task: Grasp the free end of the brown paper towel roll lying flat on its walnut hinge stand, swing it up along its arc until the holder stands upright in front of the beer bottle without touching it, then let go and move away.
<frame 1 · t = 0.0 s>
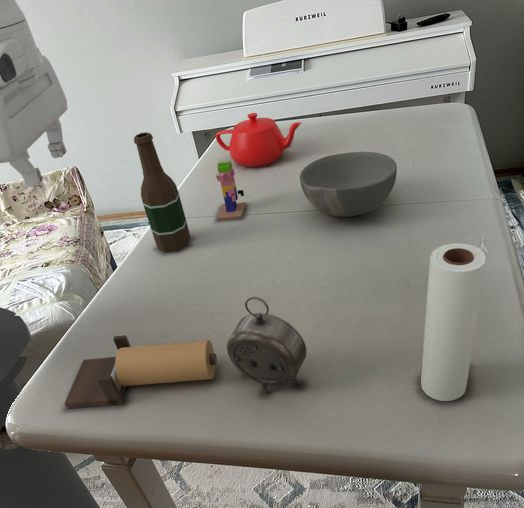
hand: (48, 169, 70), 32 cm above the table, tool pointing down, fingers open, 8 cm apart
holder: (164, 363, 80), point 3 cm above the table, hinge at 0.0°
beer bottle: (174, 244, 115), on the table
paper towel roll: (447, 386, 73), on the table
stand: (123, 382, 83), on the table
alarm clock: (271, 385, 78), on the table
figurine: (232, 213, 123), on the table
teapot: (262, 160, 144), on the table
bowl: (349, 211, 115), on the table
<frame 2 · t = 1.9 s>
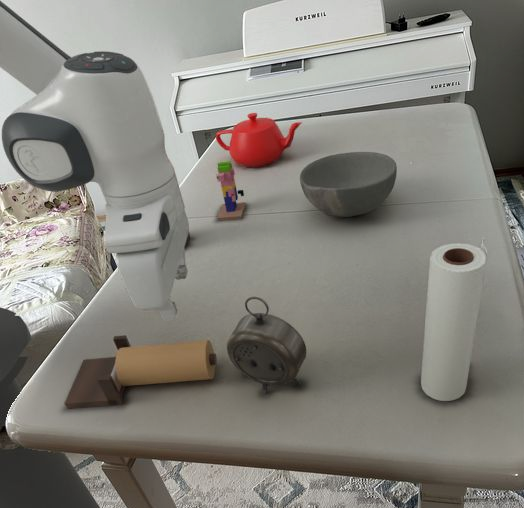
hand: (176, 295, 72), 15 cm above the table, tool pointing down, fingers open, 8 cm apart
nothing on the table moved.
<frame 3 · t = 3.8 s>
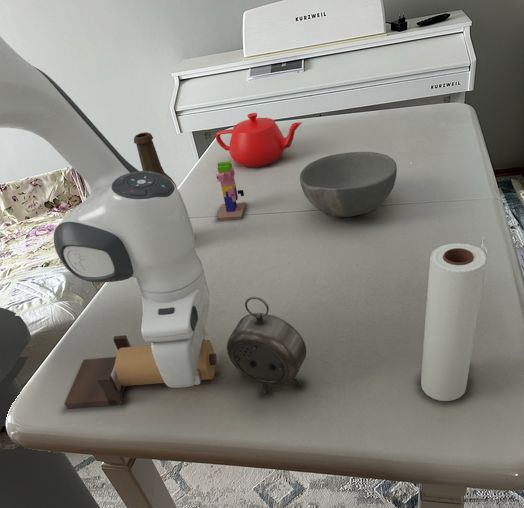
hand: (198, 364, 80), 2 cm above the table, tool pointing down, fingers closed on holder, 6 cm apart
holder: (164, 363, 80), point 3 cm above the table, hinge at 0.0°, touching gripper
everything else where it was.
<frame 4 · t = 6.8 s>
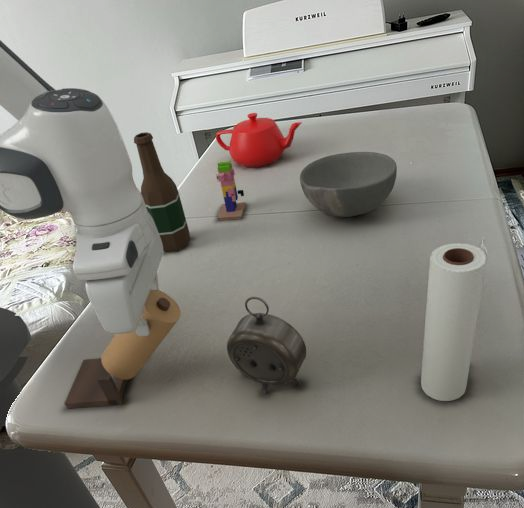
hand: (150, 316, 74), 13 cm above the table, tool pointing down, fingers closed on holder, 6 cm apart
holder: (138, 337, 77), point 9 cm above the table, hinge at 46.2°, touching gripper
everything else where it was.
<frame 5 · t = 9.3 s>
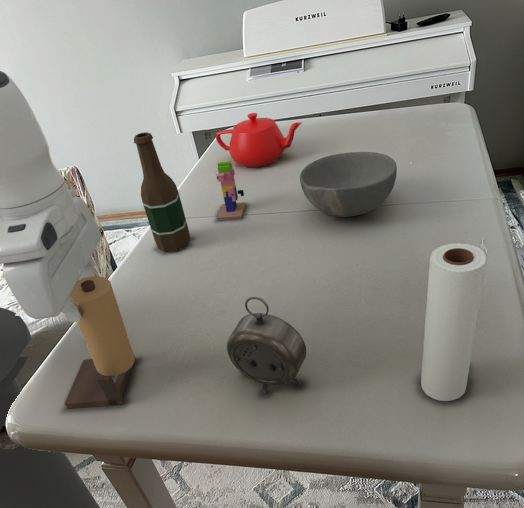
hand: (85, 303, 73), 16 cm above the table, tool pointing down, fingers closed on holder, 6 cm apart
holder: (103, 329, 76), point 11 cm above the table, hinge at 85.7°, touching gripper
everything else where it was.
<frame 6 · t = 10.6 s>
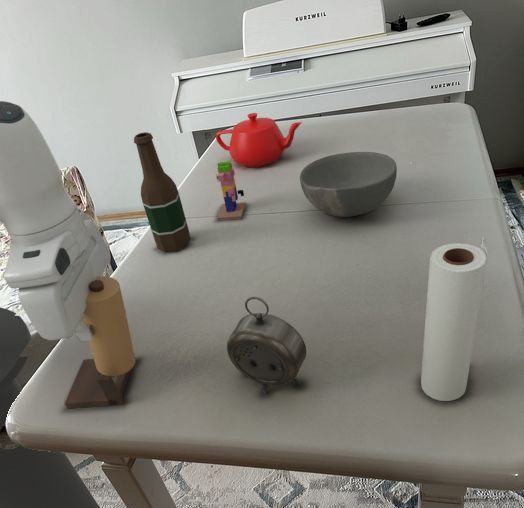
hand: (95, 322, 75), 12 cm above the table, tool pointing down, fingers closed on holder, 6 cm apart
holder: (107, 329, 76), point 11 cm above the table, hinge at 81.1°, touching gripper
everything else where it was.
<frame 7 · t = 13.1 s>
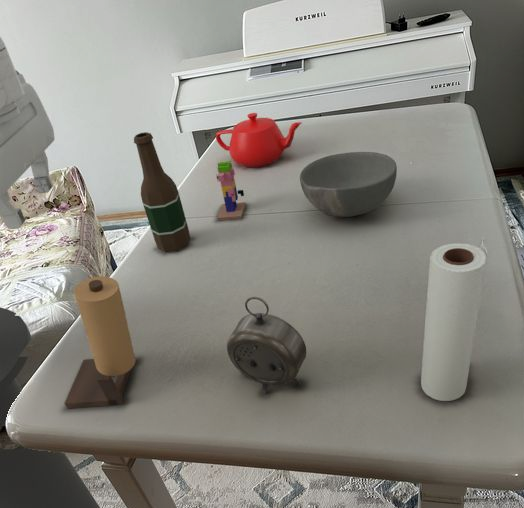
hand: (32, 207, 64), 30 cm above the table, tool pointing down, fingers open, 8 cm apart
holder: (107, 329, 76), point 11 cm above the table, hinge at 81.6°
everything else where it was.
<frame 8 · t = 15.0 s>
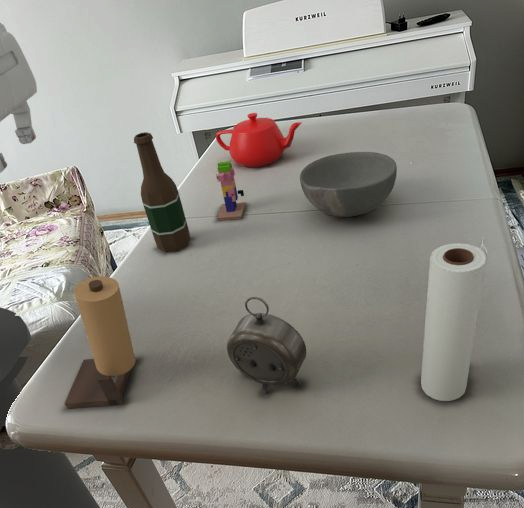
hand: (15, 155, 65), 35 cm above the table, tool pointing down, fingers open, 8 cm apart
nothing on the table moved.
at the end: holder at +82° (first picture: +0°); the gripper is holding nothing; holder touching nothing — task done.
